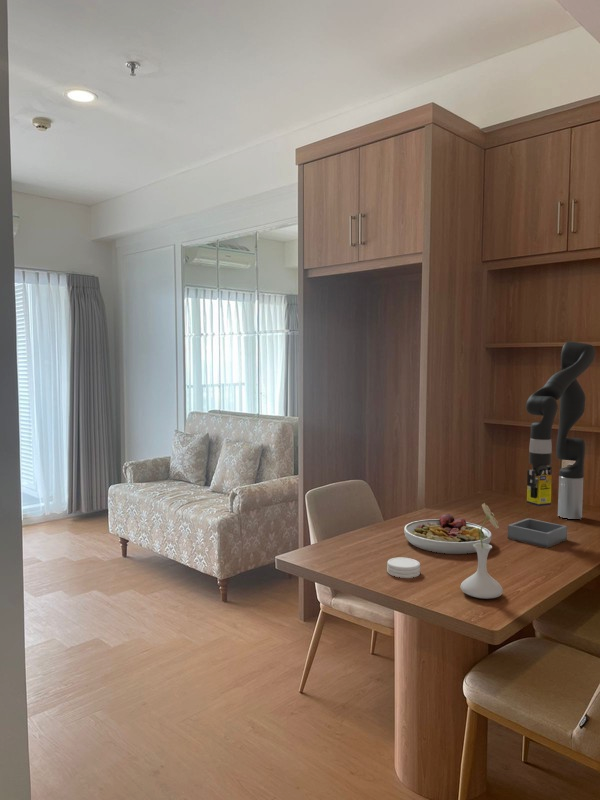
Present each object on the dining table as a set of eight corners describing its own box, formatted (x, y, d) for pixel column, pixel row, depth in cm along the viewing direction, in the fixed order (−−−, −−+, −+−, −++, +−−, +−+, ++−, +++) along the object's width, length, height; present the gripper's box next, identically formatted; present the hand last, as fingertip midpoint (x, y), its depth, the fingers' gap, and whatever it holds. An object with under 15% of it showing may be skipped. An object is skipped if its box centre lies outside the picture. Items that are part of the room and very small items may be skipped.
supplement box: (551, 505, 220) (552, 475, 219) (538, 506, 218) (539, 476, 217) (539, 501, 226) (540, 472, 225) (526, 502, 223) (527, 473, 223)
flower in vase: (501, 605, 162) (504, 512, 160) (457, 598, 166) (459, 508, 164) (504, 588, 174) (507, 501, 172) (463, 582, 178) (465, 498, 177)
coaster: (380, 572, 187) (380, 560, 187) (402, 565, 194) (402, 554, 193) (404, 581, 180) (404, 569, 179) (427, 574, 186) (427, 563, 185)
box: (527, 531, 233) (528, 518, 233) (566, 539, 222) (567, 526, 222) (507, 538, 223) (508, 525, 223) (547, 548, 212) (547, 533, 212)
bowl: (495, 560, 200) (496, 536, 199) (402, 553, 206) (403, 531, 205) (486, 534, 229) (487, 514, 228) (405, 529, 235) (405, 509, 234)
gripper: (540, 454, 213) (539, 501, 214) (559, 450, 223) (558, 495, 224) (520, 451, 219) (519, 497, 220) (539, 448, 228) (538, 491, 229)
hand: (538, 496), depth 222 cm, fingers closed on supplement box, 7 cm apart
